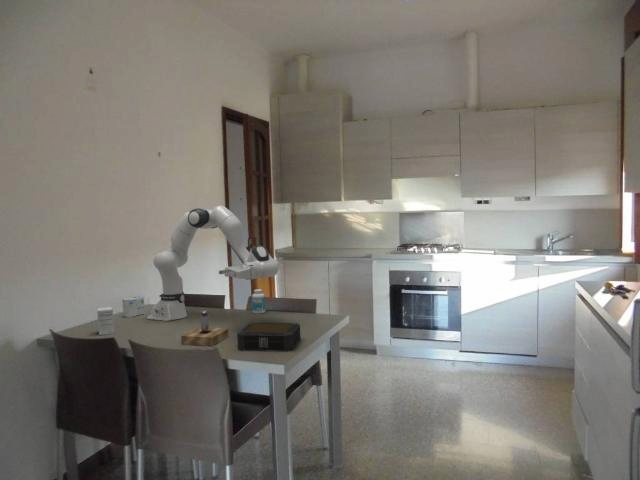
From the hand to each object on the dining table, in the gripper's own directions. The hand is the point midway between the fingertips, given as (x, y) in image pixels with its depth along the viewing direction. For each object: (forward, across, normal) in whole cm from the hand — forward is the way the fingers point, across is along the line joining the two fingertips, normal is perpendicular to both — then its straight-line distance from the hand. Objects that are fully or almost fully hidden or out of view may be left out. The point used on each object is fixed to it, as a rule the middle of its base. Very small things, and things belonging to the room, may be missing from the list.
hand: (221, 273), depth 242 cm
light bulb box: (+32, -70, +30) cm, 83 cm away
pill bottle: (-31, -32, +30) cm, 54 cm away
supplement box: (+51, -38, +30) cm, 70 cm away
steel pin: (+12, +7, +30) cm, 33 cm away
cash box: (-11, +31, +30) cm, 45 cm away
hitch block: (+12, +7, +30) cm, 33 cm away
